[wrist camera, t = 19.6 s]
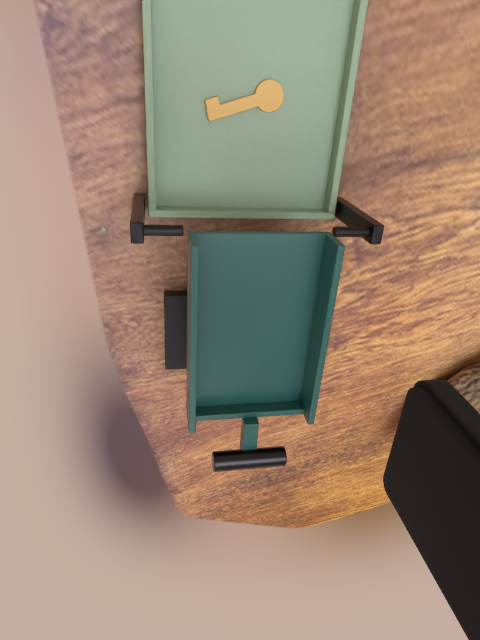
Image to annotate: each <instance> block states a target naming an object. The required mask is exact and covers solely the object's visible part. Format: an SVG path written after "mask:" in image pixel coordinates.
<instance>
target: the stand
mask: <svg viewBox="0 0 480 640" xmlns="http://www.w3.org/2000/svg"><path fill="white" fill-rule="evenodd" d="M334 213H335V215H334V216H335V217H337V218H338V219H339V220H340V221H342V222H343V223H344V224H346V225H347V226H348V227H333V230H332V234H333V236H335V237H362V238H364V239H365V240H366V241H367V242H369V243H370V244H380V243H381V239H382V234H383V230H384V225H383V224H381V223H379V222H378V221H376V220H375V219H373V218H372V217H370V216H369V215H367V214H366V213H364V212H363V211H361V210H360V209H358V208H357V207H355V206H354V205H352V204H351V203H349V202H348V201H346V200H345V199H343V198H337V202H336V209H335V212H334ZM144 221H145V197H144V193H134V198H133V205H132V213H131V220H130V232H131V243H135V244H143V243H144V236H183V225H144ZM164 312H165V364H166V369H186V368H187V291H165V292H164Z"/></svg>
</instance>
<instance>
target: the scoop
mask: <svg viewBox="0 0 480 640" xmlns="http://www.w3.org/2000/svg"><path fill="white" fill-rule="evenodd" d="M344 249H345V246H344V245H343V244H342V243H341V242H340V241H339V240H338V239H337V238H336V237H335V236H333V235H332V234H331V233H330V232H271V231H188V272H187V399H186V409H187V418H188V428H189V433H193V432H196V421H203V420H219V419H234V418H242V427H241V439H240V449H239V450H226V451H213V452H212V466H213V471H214V472H220V471H232V470H244V469H255V468H267V467H279V466H285V465H286V462H287V456H286V451H285V448H284V447H283V446H278V447H265V448H256V447H257V438H258V428H259V423H258V419H257V417H264V416H280V415H295V414H304V416H305V419H306V421H307V423H308V424H314V419H315V414H316V408H317V402H318V397H319V391H320V385H321V380H322V374H323V368H324V363H325V357H326V351H327V346H328V340H329V334H330V329H331V323H332V317H333V312H334V306H335V300H336V295H337V289H338V283H339V278H340V272H341V266H342V261H343V255H344Z"/></svg>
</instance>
